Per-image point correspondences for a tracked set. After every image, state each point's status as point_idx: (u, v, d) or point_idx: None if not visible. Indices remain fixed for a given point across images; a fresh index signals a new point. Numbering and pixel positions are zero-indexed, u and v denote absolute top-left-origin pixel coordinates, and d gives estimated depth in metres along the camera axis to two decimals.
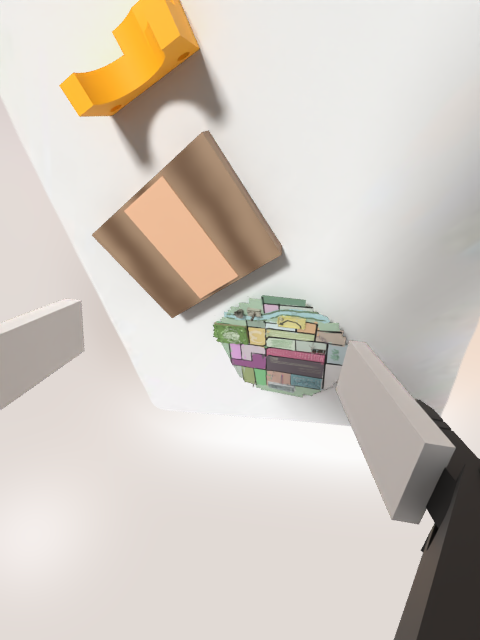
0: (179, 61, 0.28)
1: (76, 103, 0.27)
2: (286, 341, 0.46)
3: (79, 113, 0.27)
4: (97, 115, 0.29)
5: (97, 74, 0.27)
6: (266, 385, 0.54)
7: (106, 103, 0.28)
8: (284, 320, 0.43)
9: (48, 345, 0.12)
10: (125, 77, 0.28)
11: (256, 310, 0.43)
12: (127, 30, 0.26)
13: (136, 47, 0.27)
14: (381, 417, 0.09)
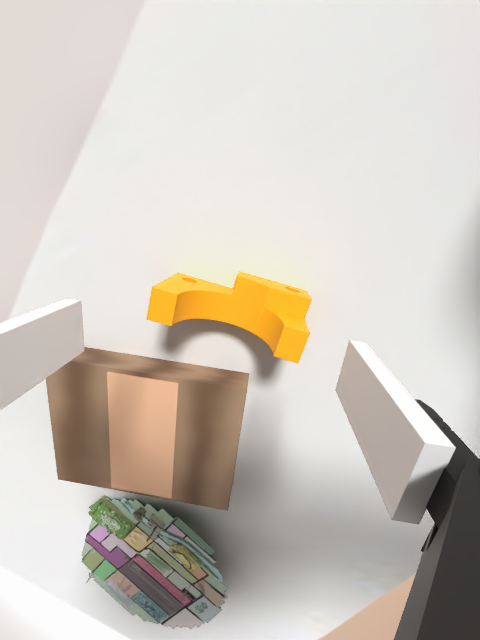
0: None
1: (154, 310, 0.21)
2: (164, 564, 0.38)
3: (149, 317, 0.21)
4: None
5: (195, 294, 0.23)
6: (103, 581, 0.42)
7: (182, 319, 0.23)
8: (180, 551, 0.36)
9: (48, 345, 0.12)
10: (217, 307, 0.25)
11: (160, 524, 0.35)
12: (250, 288, 0.24)
13: (247, 302, 0.24)
14: (381, 417, 0.09)
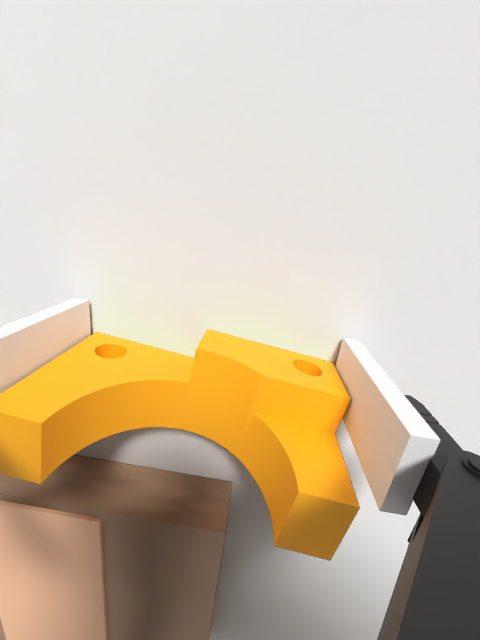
0: None
1: None
2: None
3: None
4: None
5: (108, 394, 0.11)
6: None
7: None
8: None
9: (57, 344, 0.12)
10: (162, 406, 0.13)
11: None
12: (225, 371, 0.12)
13: (219, 397, 0.12)
14: (371, 412, 0.09)
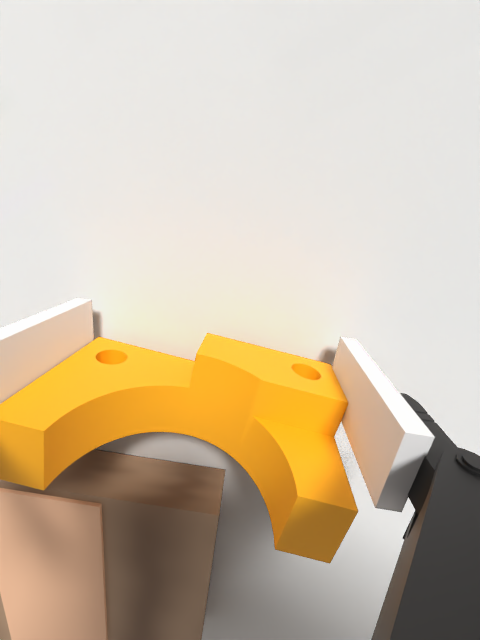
0: None
1: (1, 460, 0.09)
2: None
3: None
4: None
5: (110, 400, 0.11)
6: None
7: None
8: None
9: (61, 343, 0.12)
10: (163, 411, 0.13)
11: None
12: (225, 376, 0.12)
13: (219, 401, 0.12)
14: (367, 410, 0.09)
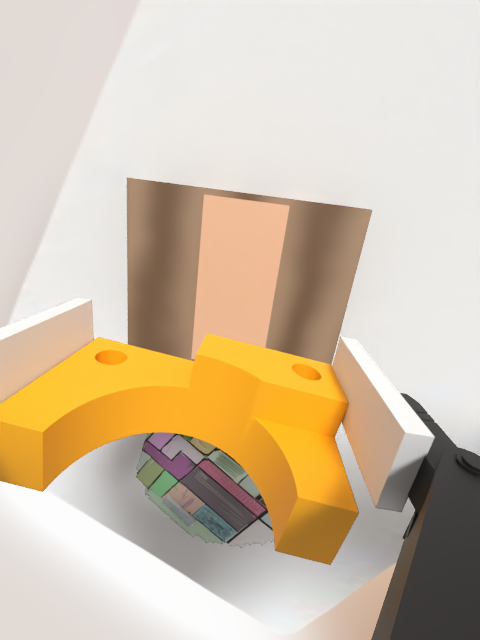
0: None
1: (0, 461, 0.09)
2: (237, 467, 0.33)
3: None
4: None
5: (109, 400, 0.11)
6: (160, 498, 0.38)
7: None
8: None
9: (61, 344, 0.12)
10: (162, 412, 0.13)
11: None
12: (225, 376, 0.12)
13: (219, 402, 0.12)
14: (367, 410, 0.09)
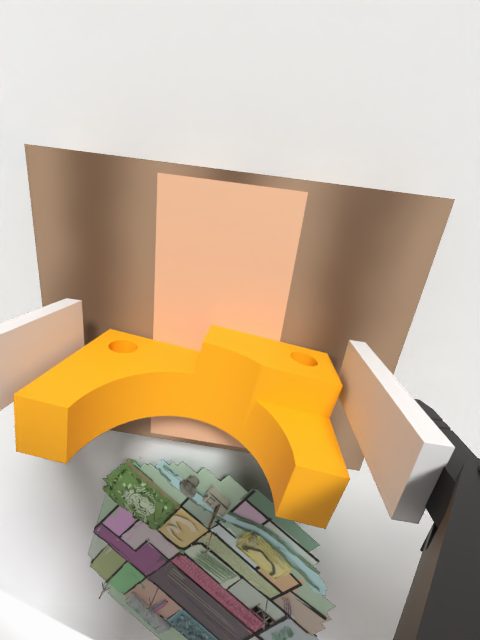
0: None
1: (28, 435, 0.10)
2: (225, 569, 0.24)
3: (20, 448, 0.11)
4: None
5: (123, 384, 0.12)
6: (123, 595, 0.28)
7: None
8: (256, 547, 0.22)
9: (48, 345, 0.12)
10: (171, 396, 0.14)
11: (224, 502, 0.21)
12: (229, 363, 0.13)
13: (223, 387, 0.13)
14: (381, 417, 0.09)
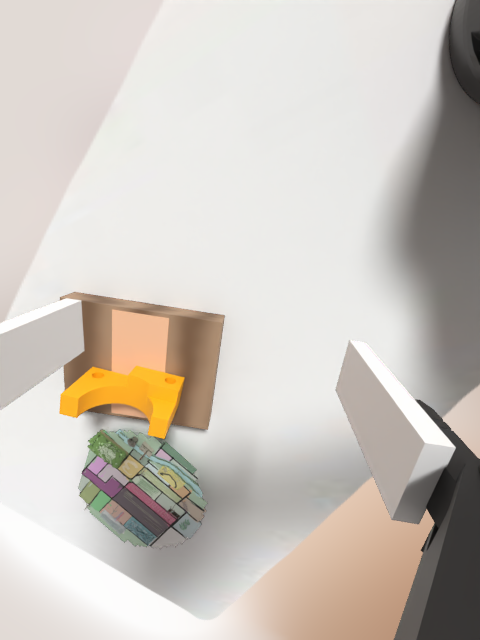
0: None
1: (64, 408, 0.31)
2: (153, 488, 0.45)
3: (61, 412, 0.31)
4: None
5: (97, 390, 0.33)
6: (98, 512, 0.48)
7: (89, 407, 0.33)
8: (166, 472, 0.43)
9: (48, 345, 0.12)
10: (117, 395, 0.35)
11: (150, 449, 0.42)
12: (138, 382, 0.34)
13: (137, 391, 0.35)
14: (381, 417, 0.09)
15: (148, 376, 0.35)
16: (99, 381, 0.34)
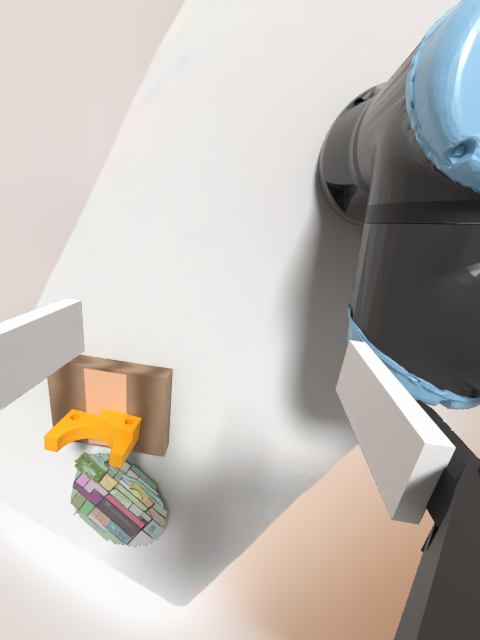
0: None
1: (47, 445, 0.42)
2: (126, 499, 0.56)
3: (45, 448, 0.43)
4: None
5: (73, 430, 0.44)
6: (86, 516, 0.60)
7: (67, 443, 0.44)
8: (135, 488, 0.54)
9: (48, 345, 0.12)
10: (89, 432, 0.46)
11: (121, 469, 0.53)
12: (104, 423, 0.45)
13: (104, 430, 0.46)
14: (381, 417, 0.09)
15: (112, 418, 0.46)
16: (75, 422, 0.45)
